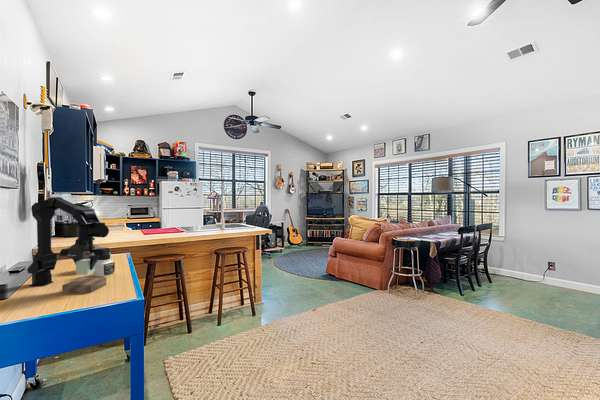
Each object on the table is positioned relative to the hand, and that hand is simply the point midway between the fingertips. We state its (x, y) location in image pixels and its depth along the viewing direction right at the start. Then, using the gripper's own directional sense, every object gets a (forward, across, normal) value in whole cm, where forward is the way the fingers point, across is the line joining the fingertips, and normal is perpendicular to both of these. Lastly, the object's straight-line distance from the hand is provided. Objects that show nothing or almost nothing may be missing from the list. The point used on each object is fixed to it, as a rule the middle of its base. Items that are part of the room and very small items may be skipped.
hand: (85, 269), depth 136 cm
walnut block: (+9, 0, 0) cm, 9 cm away
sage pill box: (+2, 0, 0) cm, 2 cm away
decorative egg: (+9, -17, +34) cm, 39 cm away
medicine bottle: (+9, -5, +24) cm, 26 cm away
